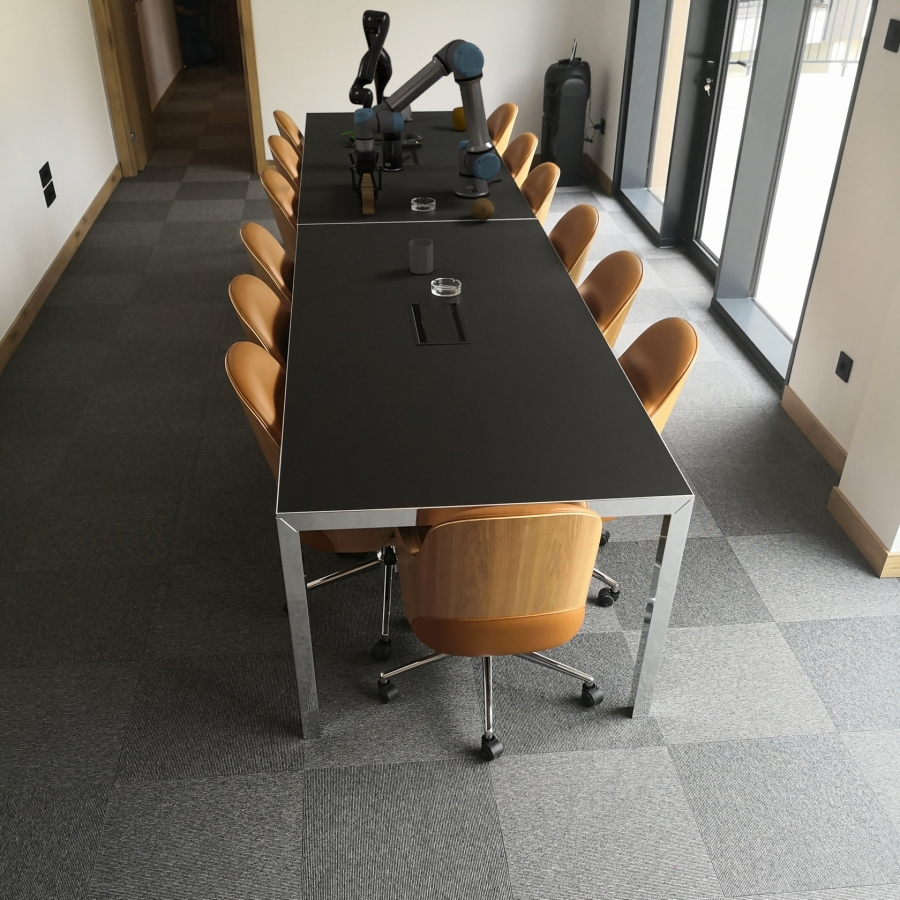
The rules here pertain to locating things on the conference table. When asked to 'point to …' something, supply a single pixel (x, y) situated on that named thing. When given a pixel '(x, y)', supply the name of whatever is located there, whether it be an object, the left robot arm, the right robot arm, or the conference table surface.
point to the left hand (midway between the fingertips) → (365, 175)
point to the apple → (458, 119)
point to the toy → (406, 113)
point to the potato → (482, 209)
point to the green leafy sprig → (352, 139)
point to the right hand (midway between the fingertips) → (368, 207)
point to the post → (367, 194)
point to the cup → (421, 256)
